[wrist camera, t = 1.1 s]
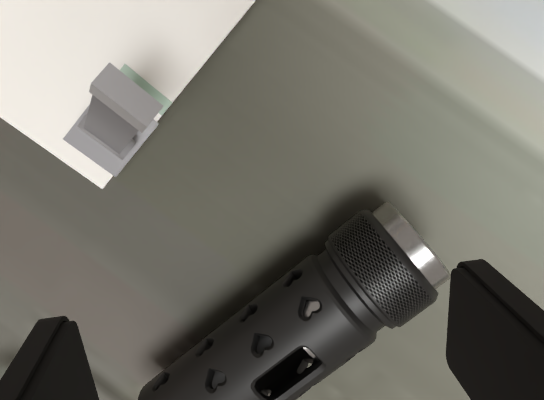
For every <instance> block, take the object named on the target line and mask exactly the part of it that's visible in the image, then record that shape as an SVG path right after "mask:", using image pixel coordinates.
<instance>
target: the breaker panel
mask: <svg viewBox="0 0 544 400" xmlns="http://www.w3.org/2000/svg"><path fill="white" fill-rule="evenodd" d="M255 1H256V0H0V117H1V118H2V119H4V120H5V121H6V122H8V123H9V124H11V125H12V126H13V127H15V128H16V129H18V130H19V131H21V132H22V133H23V134H25V135H26V136H28V137H29V138H31V139H32V140H33V141H35V142H36V143H38V144H39V145H40V146H42V147H43V148H45V149H46V150H48V151H49V152H50V153H52V154H53V155H55V156H56V157H57V158H59V159H60V160H62V161H63V162H65V163H66V164H67V165H69V166H70V167H72V168H73V169H75V170H76V171H77V172H79V173H80V174H82V175H83V176H84V177H86V178H87V179H89V180H90V181H92V182H93V183H94V184H96V185H97V186H99V187H100V188H102V189H103V188H104V186H105V185H106V184H107V183H108V181H109V180H110V179H111V178H112V176H114V177H116V176H117V175H118V174H119V172H120V171H121V170H122V169H123V167H124V166H125V165H126V164H127V163H128V161H129V160H130V159H131V158H132V156H133V155H134V154H135V153H136V152H137V150H138V149H139V148H140V147H141V145H142V144H143V143H144V142H145V140H146V139H147V138H148V137H149V136H150V134H151V133H152V132H153V131H154V129H155V128H156V127H157V126H158V125H159V123H158V122H157V121H158V120H159V119H160V117H161V116H162V115H163V114H164V113H165V111H166V110H167V109H168V108H169V106H170V105H171V104H172V103H173V101H174V100H175V99H176V98H177V96H178V95H179V94H180V93H181V92H182V90H183V89H184V88H185V87H186V85H187V84H188V83H189V82H190V80H191V79H192V78H193V77H194V76H195V74H196V73H197V72H198V71H199V69H200V68H201V67H202V66H203V64H204V63H205V62H206V61H207V60H208V58H209V57H210V56H211V55H212V53H213V52H214V51H215V50H216V48H217V47H218V46H219V45H220V44H221V42H222V41H223V40H224V39H225V37H226V36H227V35H228V34H229V32H230V31H231V30H232V29H233V28H234V26H235V25H236V24H237V23H238V21H239V20H240V19H241V18H242V16H243V15H244V14H245V13H246V12H247V10H248V9H249V8H250V7H251V5H252V4H253V3H254V2H255ZM109 62H110V63H111V64H112V65H114V66H115V67H116V68H117V69H119V70H120V71H121V72H122V73H124V74H125V75H126V76H127V77H128V78H130V79H131V80H132V81H133V82H135V83H136V84H137V85H138V86H140V87H141V88H142V89H143V90H144V91H146V92H147V93H148V94H149V95H151V96H152V97H153V98H154V99H156V100H157V101H158V102H159V103H160V104H162V105H163V108H162V109H161V110H160V111H159V113H158V114H157V115H156V116H155V118H154V119H153V120H152V121H151V123H150V124H149V125H148V126H147V128H146V129H145V130H144V131H143V132H142V133H141V132H140V131H138V132H137V133H136V134H135V136H134V137H133V138H132V139H133V140H134V141H136V142H137V143H136V144H135V145H134V147H133V148H132V149H131V150H130V152H129V153H128V154H127V155H126V156H125V158H124V159H123V160H121V159H120V158H119V157H117V156H116V155H115V154H113V153H112V152H111V151H109V150H108V149H107V148H105V147H104V146H103V145H101V144H100V143H98V142H97V141H96V140H94V139H93V138H92V137H90V136H89V135H88V134H86V133H85V132H84V131H82V130H81V129H80V128H78V127H77V126H78V124H79V123H80V121H81V120H82V119H83V117H84V116H85V115H86V114H87V113H88V110H89V106H90V102H91V98H92V94H91V93H90V92H89V89H90V85H91V82H92V81H93V80H94V79H95V78H96V77H97V76H98V75H99V73H100V72H101V71H102V70H103V69H104V68H105V67H106V66H107V64H108V63H109Z"/></svg>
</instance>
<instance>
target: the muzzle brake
mask: <svg viewBox="0 0 544 400" xmlns="http://www.w3.org/2000/svg"><path fill="white" fill-rule="evenodd" d="M325 246H326V250H324V251H323V252H322V253H321V254H319V255H318V256H317V255H309V256H308V257H306V258H305V259H304V260H303V261H301V262H300V263H299V264H298V265H296V266H295V267H294V268H292V269H291V270H290V271H289V272H287V273H286V274H285V275H284V276H282V277H281V278H280V279H279V280H277V281H276V282H275V283H273V284H272V285H271V286H270V287H268V288H267V289H266V290H265V291H263V292H262V293H261V294H260V295H258V296H257V297H256V298H255V299H253V300H252V301H251V302H249V303H248V304H247V305H246V306H244V307H243V308H242V309H241V310H239V311H238V312H237V313H236V314H234V315H233V316H232V317H230V318H229V319H228V320H227V321H225V322H224V323H223V324H222V325H220V326H219V327H218V328H217V329H215V330H214V331H213V332H212V333H210V334H209V335H208V336H206V337H205V338H204V339H203V340H201V341H200V342H199V343H198V344H196V345H195V346H194V347H193V348H191V349H190V350H189V351H187V352H186V353H185V354H184V355H182V356H181V357H180V358H179V359H177V360H176V361H175V362H174V363H172V364H171V365H170V366H169V367H167V368H166V369H165V370H163V371H162V372H161V373H160V374H158V375H157V376H156V377H155V378H153V379H152V380H151V381H150V382H148V383H147V384H146V385H145V386H144V387H143V388H142V390H141V391H140V394H139V397H138V400H296V399H297V398H299V397H300V396H301V395H302V394H304V393H305V392H306V391H308V390H309V389H310V388H311V387H312V386H313V385H316V384H317V383H319V382H320V381H322V380H323V379H324V378H326V377H327V376H328V375H330V374H331V373H332V372H334V371H335V370H337V369H338V368H339V367H341V366H342V365H343V364H345V363H346V362H347V361H348V360H350V359H351V358H352V357H354V356H355V355H356V354H357V353H358V352H360V351H362V350H363V349H365V348H366V347H368V346H369V345H370V344H372V343H373V342H374V341H375V339H376V333H377V331H378V330H380V329H381V328H383V327H384V326H387V327H389V328H391V329H393V328H394V327H395V326H398V327H401V326H402V325H404V324H405V323H407V322H408V321H409V320H411V319H412V318H413V317H415V316H416V315H417V314H419V313H420V312H422V311H423V310H424V309H426V308H427V307H428V306H430V305H431V304H432V303H434V302H435V301H436V298H437V296H438V292H437V291H436V290H435V289H436V288H438V287H439V286H440V285H442V284H443V283H445V282H446V281H447V280H449V279H450V278H451V275H450V273H449V271H448V270H447V268H446V267H445V265H444V264H443V263H442V261H441V260H440V259H439V258H438V256H437V255H436V254H435V253H434V251H433V250H432V249H431V248H430V247H429V245H428V244H427V243H426V242H425V241H424V239H423V238H422V237H421V236H420V235H419V234H418V232H417V231H416V230H415V229H414V228H413V227H412V226H411V224H410V223H409V222H408V221H407V220H406V219H405V218H404V217H403V216H402V214H401V213H400V212H399V211H398V210H397V209H396V208H395V207H394V206H393V205H392V204H391V203H389V202H385V203H383V204H382V205H381V206H380V207H378V208H377V209H376V210H375V211H373V212H372V213H371V212H370V211H369V209H368V210H361V211H359V212H358V213H357V214H355V215H354V216H353V217H352V218H350V219H349V220H348V221H347V222H345V223H344V224H343V225H342V226H340V227H339V228H338V229H337V230H335V231H334V232H333V233H332V234H330V235H329V236H328V240H327V241H326V242H325ZM308 363H312V365H311V366H310V367H308V368H307V366H308ZM268 393H271V395H270V396H267V395H268Z"/></svg>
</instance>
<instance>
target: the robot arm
mask: <svg viewBox="0 0 544 400" xmlns="http://www.w3.org/2000/svg"><path fill="white" fill-rule="evenodd" d="M446 359H447V363H448V366H449V368H450V370H451V371H452V373H453V374H454V375H455V377H456V378H457V380H458V381H459V383H460V384H461V386H462V387H463V389H464V390H465V392H466V393H467V394H468V396H469V397H470V399H471V400H544V311H543V310H542V309H541V308H540V307H539V306H538V305H536V304H535V303H534V302H533V301H532V300H531V299H530V298H528V297H527V296H526V295H525V294H524V293H523V292H521V291H520V290H519V289H518V288H517V287H516V286H514V285H513V284H512V283H511V282H510V281H509V280H507V279H506V278H505V277H504V276H503V275H502V274H500V273H499V272H498V271H497V270H496V269H495V268H493V267H492V266H491V265H490V264H489V263H488V262H486V261H485V260H483V259H479V260H472V261H464V262H460V263H458V265H457V268H455V269H453V270H452V272H451V281H450V297H449V312H448V328H447V344H446ZM0 400H99V397H98V394H97V391H96V387H95V384H94V380H93V377H92V374H91V370H90V367H89V363H88V360H87V357H86V353H85V350H84V346H83V343H82V339H81V336H80V333H79V329H78V326H77V323H76V322H75V321H69V319H68V318H67V317H66V316H60V317H53V318H45V319H40V320H38V322H37V323H36V324H35V326H34V327H33V329H32V331H31V332H30V334H29V335H28V337H27V339H26V340H25V342H24V343H23V345H22V347H21V348H20V350H19V351H18V353H17V354H16V356H15V358H14V359H13V361H12V362H11V364H10V366H9V367H8V369H7V370H6V372H5V374H4V375H3V377H2V378H1V380H0Z"/></svg>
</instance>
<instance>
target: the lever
mask: <svg viewBox="0 0 544 400" xmlns="http://www.w3.org/2000/svg"><path fill="white" fill-rule="evenodd" d="M89 92H90V93H91V94H92V98H91V102H90V106H89V110H88V113H87V114H86V115H85V116H84V117H83V119H82V120H81V121H80V123H79V124H78V126H77V127H78V128H80V129H81V130H82V131H84V132H85V133H86V134H88V135H89V136H90V137H92V138H93V139H94V140H96V141H97V142H98V143H100V144H101V145H103V146H104V147H105V148H107V149H108V150H109V151H111V152H112V153H113V154H115V155H116V156H117V157H119V158H120V159H121V160H123V159H124V158H125V156H126V155H127V154H128V153H129V152H130V150H131V149H132V148H133V147H134V145H135V144H136V143H137V142H136V141H134V140H133V139H132V138H133V137H134V136H135V134H136V133H137V132H138V131H140V132H141V133H142V132H143V131H144V130H145V129H146V128H147V126H148V125H149V124H150V123H151V121H152V120H153V119H154V118H155V116H156V115H157V114H158V113H159V111H160V110H161V109H162V108H163V105H162V104H160V103H159V102H158V101H157V100H156V99H154V98H153V97H152V96H151V95H149V94H148V93H147V92H146V91H144V90H143V89H142V88H141V87H140V86H138V85H137V84H136V83H135V82H133V81H132V80H131V79H130V78H128V77H127V76H126V75H125V74H124V73H122V72H121V71H120V70H119V69H117V68H116V67H115V66H114V65H112V64H111V63H110V62H109V63H108V64H107V66H106V67H105V68H104V69H103V70H102V71H101V72H100V73H99V75H98V76H97V77H96V78H95V79H94V80H93V81H92V82H91V85H90V89H89Z"/></svg>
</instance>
